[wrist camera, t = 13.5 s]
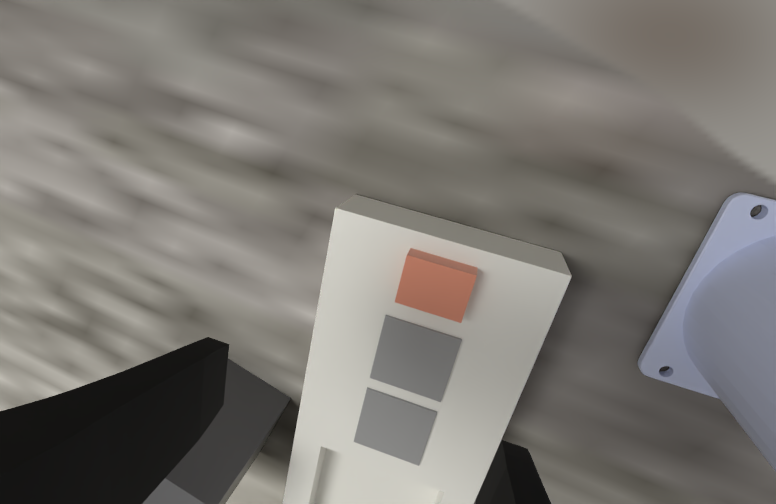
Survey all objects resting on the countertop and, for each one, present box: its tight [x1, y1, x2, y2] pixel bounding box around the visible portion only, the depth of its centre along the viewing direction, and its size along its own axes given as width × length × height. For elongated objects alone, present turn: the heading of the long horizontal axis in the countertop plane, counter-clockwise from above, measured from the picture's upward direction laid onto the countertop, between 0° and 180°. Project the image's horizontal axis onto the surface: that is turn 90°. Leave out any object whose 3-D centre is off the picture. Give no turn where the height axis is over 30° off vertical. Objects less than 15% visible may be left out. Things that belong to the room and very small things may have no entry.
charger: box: [142, 359, 291, 504], centre depth 21 cm, size 5×5×7 cm
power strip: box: [282, 194, 572, 504], centre depth 20 cm, size 9×22×3 cm, turn 167°
